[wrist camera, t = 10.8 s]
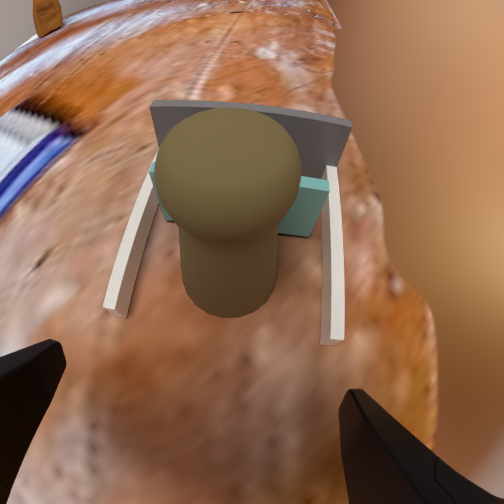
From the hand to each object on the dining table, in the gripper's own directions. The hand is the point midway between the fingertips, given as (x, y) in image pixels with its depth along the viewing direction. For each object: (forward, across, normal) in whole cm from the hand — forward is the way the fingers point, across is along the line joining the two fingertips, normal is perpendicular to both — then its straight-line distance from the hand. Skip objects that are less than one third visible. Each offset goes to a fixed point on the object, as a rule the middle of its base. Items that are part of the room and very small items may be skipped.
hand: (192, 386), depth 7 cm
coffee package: (+62, +72, -51) cm, 108 cm away
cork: (+11, 0, +1) cm, 11 cm away
